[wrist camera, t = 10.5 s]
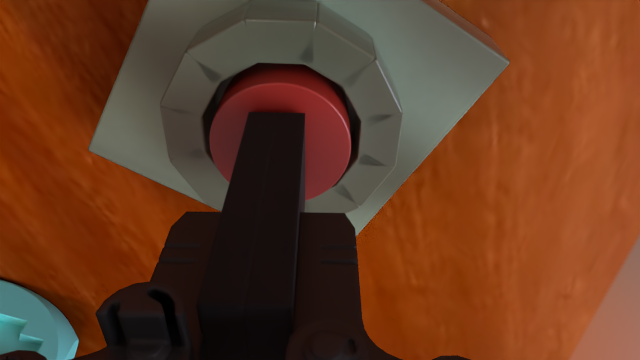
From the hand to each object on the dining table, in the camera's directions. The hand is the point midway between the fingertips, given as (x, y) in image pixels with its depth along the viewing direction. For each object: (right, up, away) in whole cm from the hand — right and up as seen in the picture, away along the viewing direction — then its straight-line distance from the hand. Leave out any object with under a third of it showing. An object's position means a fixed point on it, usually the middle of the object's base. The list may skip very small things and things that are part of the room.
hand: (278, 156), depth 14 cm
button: (0, +1, +2) cm, 2 cm away
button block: (0, +3, +4) cm, 5 cm away
